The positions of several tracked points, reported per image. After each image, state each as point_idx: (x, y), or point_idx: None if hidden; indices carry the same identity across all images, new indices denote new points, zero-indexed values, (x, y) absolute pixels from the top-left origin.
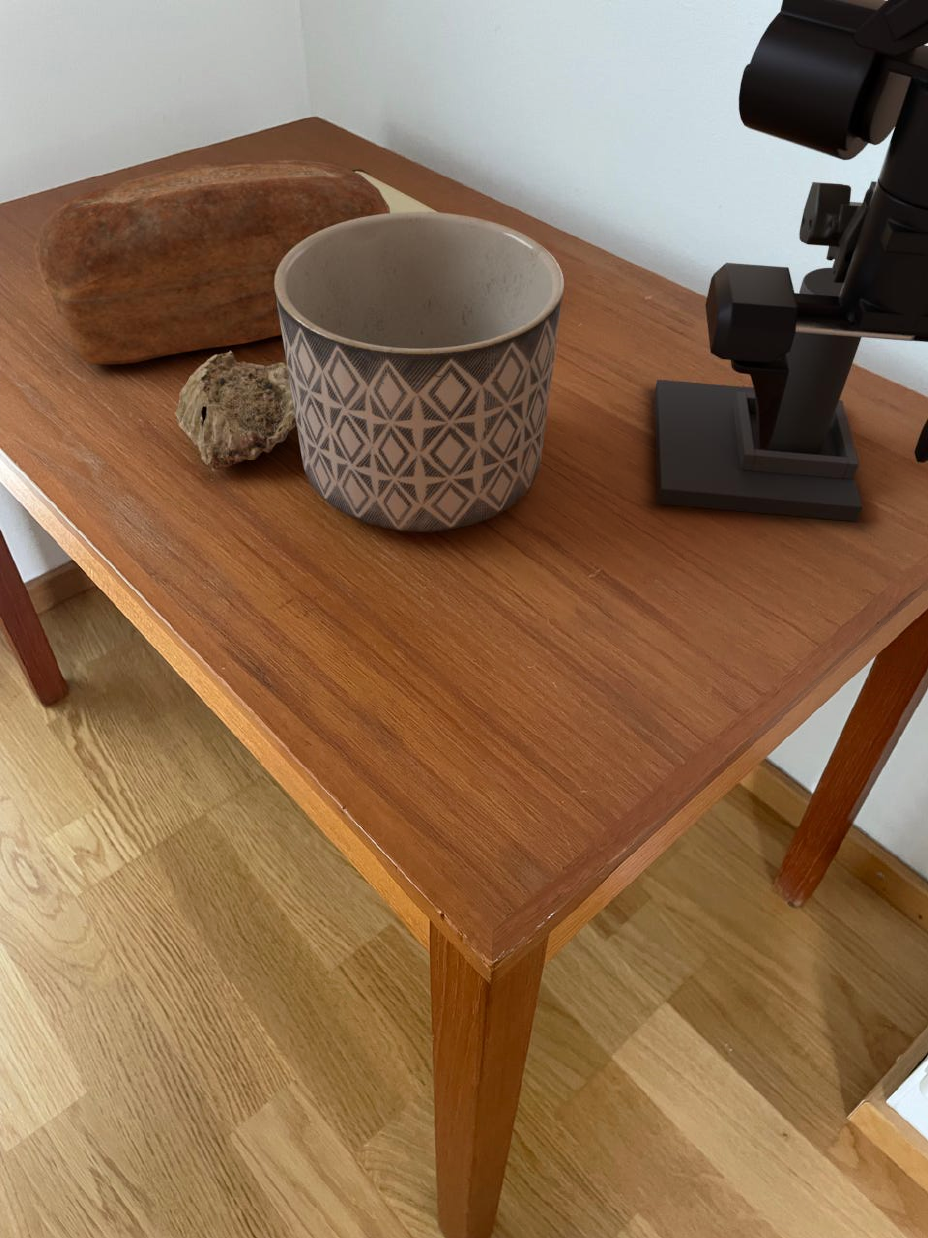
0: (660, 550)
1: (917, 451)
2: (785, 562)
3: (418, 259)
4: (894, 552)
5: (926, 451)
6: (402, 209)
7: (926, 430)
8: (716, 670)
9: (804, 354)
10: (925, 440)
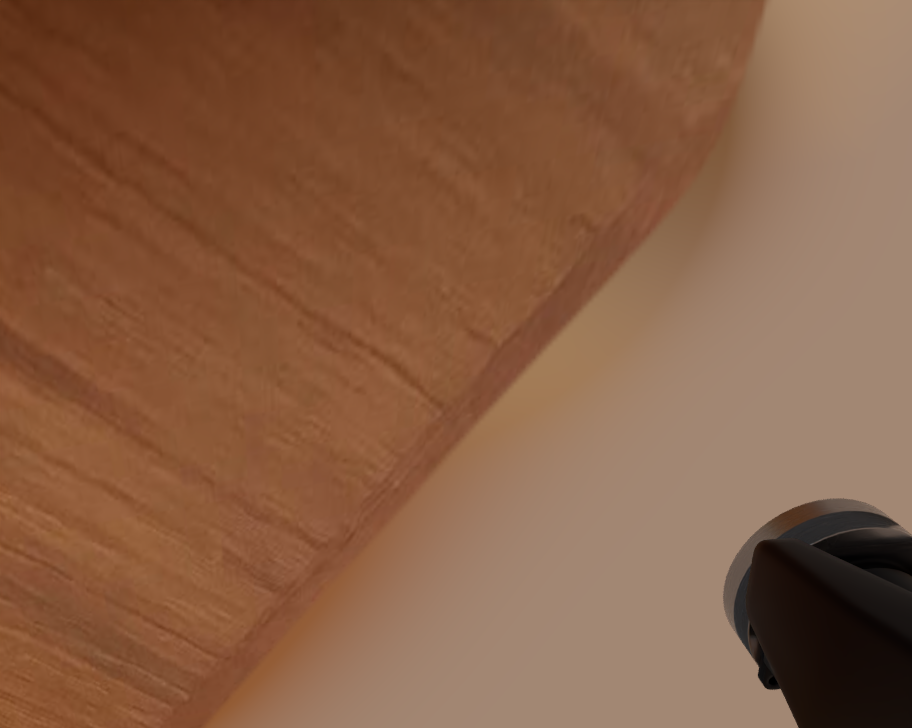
0: (36, 147)
1: (768, 585)
2: (389, 143)
3: None
4: (690, 52)
5: (795, 718)
6: None
7: (859, 684)
8: (228, 510)
9: None
10: (820, 698)
